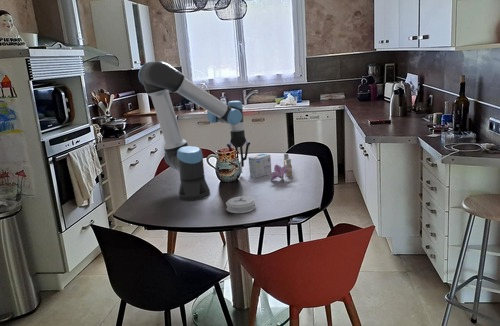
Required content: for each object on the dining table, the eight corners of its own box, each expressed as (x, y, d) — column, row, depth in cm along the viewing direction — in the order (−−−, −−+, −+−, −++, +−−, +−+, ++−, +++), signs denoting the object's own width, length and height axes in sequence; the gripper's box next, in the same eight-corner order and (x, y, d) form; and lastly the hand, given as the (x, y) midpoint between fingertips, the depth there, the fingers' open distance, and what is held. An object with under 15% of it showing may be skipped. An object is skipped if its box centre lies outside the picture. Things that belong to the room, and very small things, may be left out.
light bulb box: (264, 171, 239) (263, 152, 237) (272, 173, 234) (270, 154, 231) (249, 175, 233) (247, 156, 230) (257, 178, 228) (255, 158, 225)
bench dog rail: (292, 176, 226) (291, 159, 223) (286, 176, 226) (285, 160, 223) (289, 168, 241) (288, 153, 239) (284, 169, 241) (283, 153, 239)
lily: (295, 180, 221) (289, 163, 223) (294, 178, 209) (287, 160, 211) (274, 189, 222) (267, 172, 224) (271, 187, 211) (264, 169, 213)
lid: (249, 203, 190) (248, 192, 189) (260, 211, 179) (260, 200, 178) (222, 208, 186) (221, 197, 185) (232, 217, 174) (231, 205, 173)
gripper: (249, 127, 231) (252, 169, 237) (225, 129, 231) (229, 171, 237) (249, 130, 224) (253, 173, 230) (224, 132, 224) (228, 175, 230)
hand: (241, 172), depth 233 cm, fingers closed
